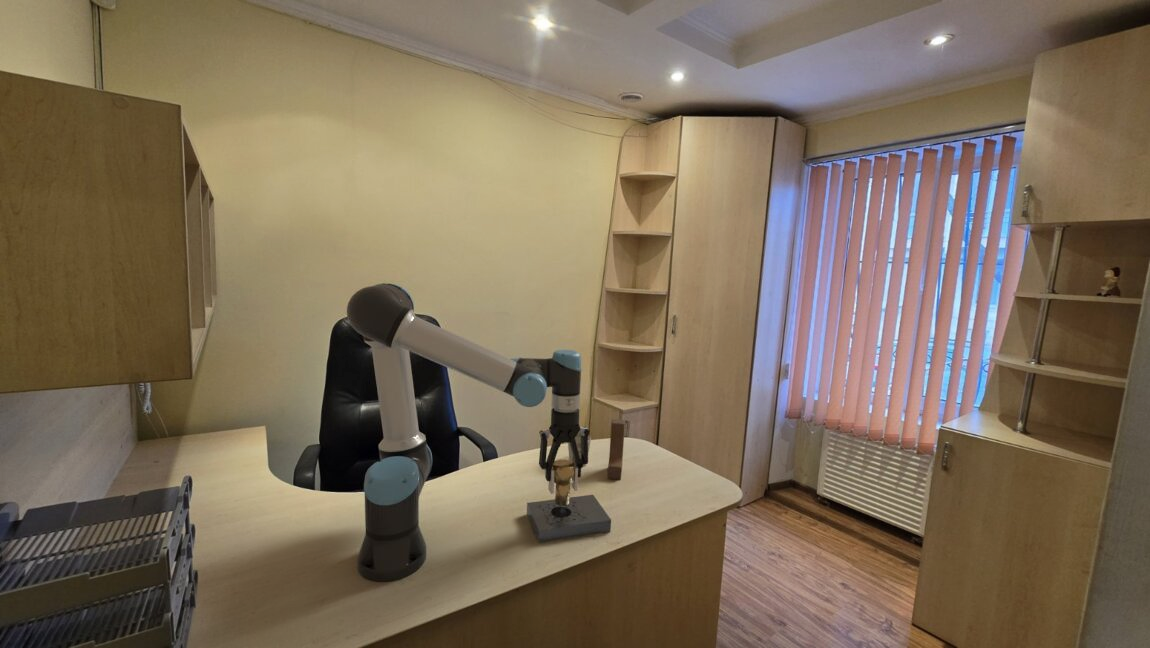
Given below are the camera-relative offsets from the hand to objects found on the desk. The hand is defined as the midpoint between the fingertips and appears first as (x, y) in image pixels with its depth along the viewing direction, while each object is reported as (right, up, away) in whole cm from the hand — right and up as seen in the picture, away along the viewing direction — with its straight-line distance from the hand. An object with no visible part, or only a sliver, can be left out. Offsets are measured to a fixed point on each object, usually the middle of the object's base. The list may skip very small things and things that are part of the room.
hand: (562, 489), depth 128 cm
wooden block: (+17, -6, +33) cm, 38 cm away
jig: (+1, -10, +2) cm, 10 cm away
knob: (0, -4, 0) cm, 4 cm away
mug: (+5, -5, +42) cm, 42 cm away
